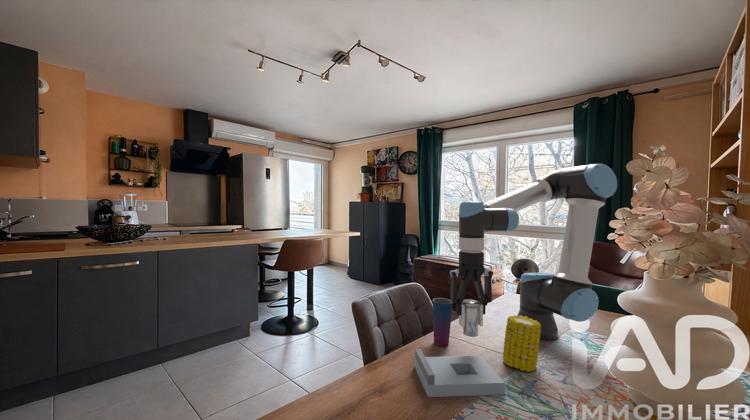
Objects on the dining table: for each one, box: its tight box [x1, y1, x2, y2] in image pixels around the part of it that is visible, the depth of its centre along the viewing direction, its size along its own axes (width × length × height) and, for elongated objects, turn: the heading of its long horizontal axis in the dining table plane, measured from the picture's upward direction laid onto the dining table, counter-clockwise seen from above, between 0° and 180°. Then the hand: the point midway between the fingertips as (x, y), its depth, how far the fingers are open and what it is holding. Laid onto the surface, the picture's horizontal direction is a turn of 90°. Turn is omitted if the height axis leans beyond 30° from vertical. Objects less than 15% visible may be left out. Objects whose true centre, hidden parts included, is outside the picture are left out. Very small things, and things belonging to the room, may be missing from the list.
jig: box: [414, 348, 506, 398], centre depth 82 cm, size 20×14×5 cm
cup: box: [432, 297, 454, 348], centre depth 104 cm, size 7×7×15 cm
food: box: [502, 315, 541, 373], centre depth 91 cm, size 15×12×10 cm
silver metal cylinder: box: [462, 299, 480, 338], centre depth 94 cm, size 5×5×10 cm
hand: (470, 324), depth 94 cm, fingers closed on silver metal cylinder, 5 cm apart
